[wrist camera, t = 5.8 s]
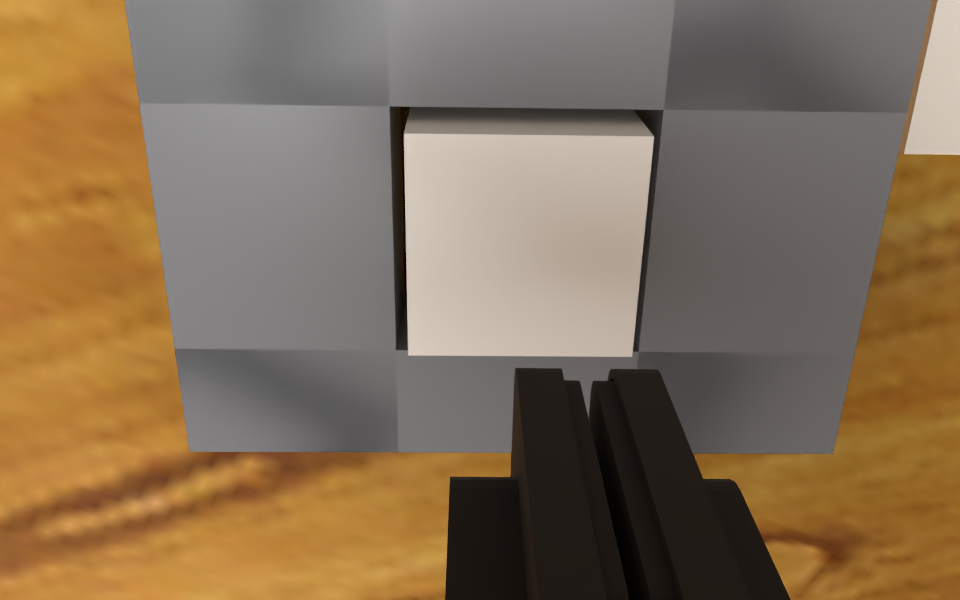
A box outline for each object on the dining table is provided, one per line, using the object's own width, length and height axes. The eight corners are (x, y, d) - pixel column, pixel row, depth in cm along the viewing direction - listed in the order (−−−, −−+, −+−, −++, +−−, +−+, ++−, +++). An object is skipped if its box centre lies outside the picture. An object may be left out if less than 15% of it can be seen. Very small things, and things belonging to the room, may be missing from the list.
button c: (620, 93, 19) (654, 136, 16) (605, 283, 21) (631, 356, 17) (413, 91, 19) (403, 133, 15) (417, 281, 21) (407, 355, 17)
